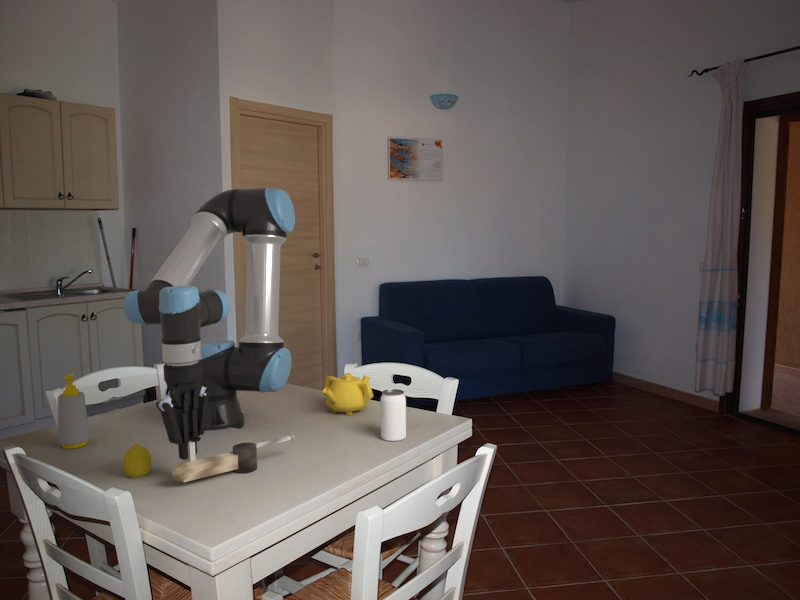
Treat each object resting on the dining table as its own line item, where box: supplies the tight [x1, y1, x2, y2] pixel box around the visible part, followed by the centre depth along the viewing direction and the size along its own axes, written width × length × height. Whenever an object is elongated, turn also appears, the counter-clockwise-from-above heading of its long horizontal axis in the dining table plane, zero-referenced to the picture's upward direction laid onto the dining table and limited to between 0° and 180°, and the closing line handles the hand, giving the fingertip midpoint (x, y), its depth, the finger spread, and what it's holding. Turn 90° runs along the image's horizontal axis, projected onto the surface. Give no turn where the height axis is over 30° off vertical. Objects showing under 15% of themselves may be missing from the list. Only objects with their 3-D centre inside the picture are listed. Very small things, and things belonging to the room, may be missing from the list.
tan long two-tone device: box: [171, 433, 296, 483], centre depth 127 cm, size 27×5×5 cm, turn 126°
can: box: [380, 388, 407, 443], centre depth 150 cm, size 6×6×12 cm
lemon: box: [122, 443, 153, 479], centre depth 126 cm, size 6×6×8 cm
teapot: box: [322, 372, 374, 417], centre depth 174 cm, size 20×18×11 cm
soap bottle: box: [57, 373, 91, 450], centre depth 147 cm, size 7×7×18 cm
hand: (189, 471), depth 124 cm, fingers closed
